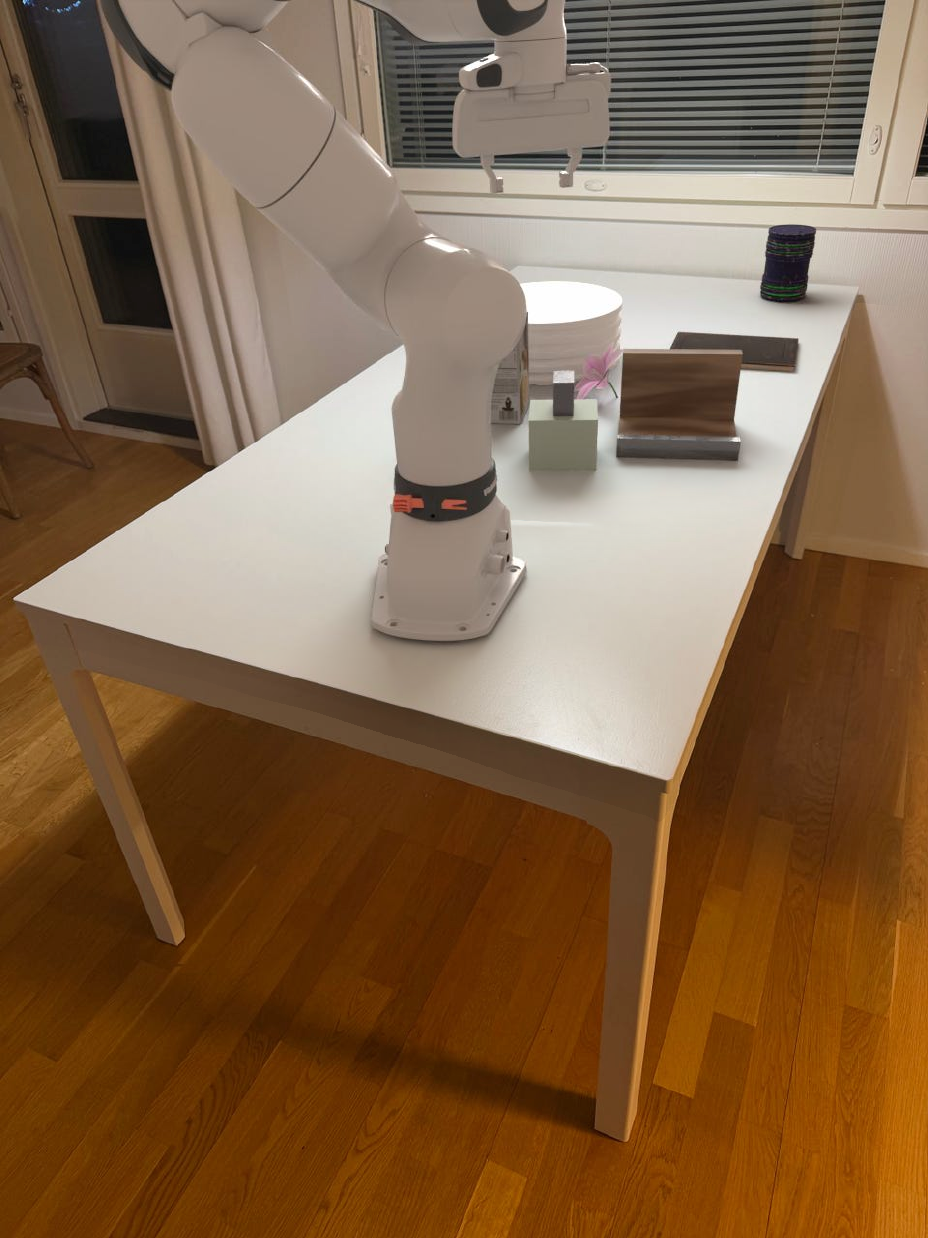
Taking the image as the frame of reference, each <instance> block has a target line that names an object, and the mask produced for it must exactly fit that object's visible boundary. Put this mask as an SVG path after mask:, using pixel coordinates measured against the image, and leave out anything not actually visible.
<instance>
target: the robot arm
mask: <svg viewBox="0 0 928 1238" xmlns="http://www.w3.org/2000/svg"><path fill="white" fill-rule="evenodd" d="M289 1H291V0H99V2H100V7H101V10H102V13H103V15H104V19H105V20H106V22H107V25H108V27H109V29H110V31H111V32H112V34H113V36H114V37H115V39H116V40H117V42H118V43H119V45H120V46H121V47H122V49H123V50H124V51H125V53H126V54H127V55H128V56H129V58H130V59H131V60H132V62H134V63H135V64H136V65H137V66H138V67H139V68H140V69H141V70H142V71H144V72H145V73H146V74H147V75H148V76H149V77H150V78H151V79H152V80H153V81H154V82H155V83H156V84H158V85H160V87H162V88H164V89H166V90H167V91H170V92H171V93H170V94H171V103H172V104H171V105H172V109H173V111H174V115H175V118H176V119H177V121H178V123H179V124H180V126H181V127H182V129H183V130H184V132H185V133H186V134H187V136H188V137H189V138H190V139H191V141H192V142H193V143H194V145H195V146H196V147H197V149H198V150H199V151H201V153H202V154H203V155H204V157H206V159H207V160H208V161H209V163H211V164H212V166H213V168H215V169H216V170H217V171H218V172H219V173H220V174H221V176H222V177H223V178H224V179H225V180H226V181H227V182H228V183H229V184H230V185H231V186H232V187H233V188H234V189H235V190H236V191H237V192H238V194H240V195H241V196H242V197H243V198H244V199H245V200H246V201H248V202H249V204H250V205H252V206H253V207H254V209H256V210H257V211H258V212H259V213H261V214H262V216H264V217H265V218H266V219H267V220H268V221H270V222H271V224H273V226H275V227H276V228H277V229H278V230H280V232H282V233H283V234H284V235H285V236H286V237H287V238H288V239H290V241H292V243H294V244H295V245H296V246H297V247H298V248H299V249H301V251H303V252H304V253H305V254H306V255H307V256H308V257H309V258H310V259H311V260H313V261H314V262H315V263H316V264H317V265H318V266H319V267H320V268H321V269H322V270H323V271H324V273H326V276H328V277H329V278H330V279H331V280H332V282H333V283H334V284H335V285H336V286H337V287H338V288H339V289H340V290H341V291H342V292H343V293H344V294H345V295H346V296H347V297H348V299H350V300H351V301H352V303H353V304H355V305H356V307H358V308H359V309H360V311H362V312H363V313H364V314H365V315H366V317H368V318H369V319H370V320H371V321H372V322H374V324H375V325H377V326H378V327H379V328H380V329H382V330H384V331H386V332H388V333H389V334H391V335H393V336H394V337H396V338H398V339H400V340H401V342H402V344H403V347H404V352H405V369H404V377H403V383H402V388H401V390H400V391H399V392H398V393H397V394H396V395H395V397H394V399H393V400H392V404H391V416H392V428H393V429H392V430H393V438H394V445H395V446H394V448H395V457H396V465H395V467H394V478H393V492H394V495H393V497H392V498H393V500H392V503H391V504H389V509H390V515H391V517H390V526H389V535H388V537H389V538H388V543H386V544H385V546H384V554H381V555H380V556H379V557H378V565H377V569H376V570H377V571H376V578H375V579H376V580H375V585H374V586H375V587H374V596H373V602H372V610H371V620H370V621H371V627H372V628H373V629H376V630H377V631H378V632H381V633H384V634H386V635H390V636H394V637H398V638H404V639H411V640H420V641H421V640H422V641H434V642H435V641H439V642H445V641H446V642H449V641H450V642H451V641H452V642H453V641H465V640H471V639H476V638H480V637H483V636H486V635H488V634H489V633H490V632H491V631H492V629H493V628H494V626H495V624H496V622H497V621H498V619H499V618H500V616H501V614H502V613H503V612H504V610H505V608H506V607H507V605H508V603H509V601H511V598H512V597H513V595H514V594H515V592H516V590H517V588H518V587H519V586H520V584H521V582H522V580H523V579H524V577H525V576H526V573H527V572H528V571H527V569H528V568H527V564H526V562H525V561H524V560H523V559H521V558H518V557H516V556H514V553H513V537H512V523H511V513H510V512H511V511H510V509H509V508H508V507H507V506H506V505H505V504H504V503H503V502H502V500H500V498H499V497H498V495H497V490H498V489H497V488H498V486H497V482H498V472H497V469H496V468H497V466H496V461H495V459H494V458H493V457H492V454H493V453H492V423H491V398H492V391H493V386H494V382H495V378H496V374H497V371H498V368H499V365H500V362H501V361H502V360H503V359H504V358H505V357H506V356H507V355H509V354H510V352H511V351H512V350H513V349H514V348H515V346H516V345H517V343H518V341H519V340H520V338H521V335H522V333H523V330H524V327H525V323H526V316H527V305H526V298H525V294H524V291H523V289H522V287H521V285H520V284H521V283H520V282H519V281H518V279H517V278H516V277H515V276H514V275H513V274H512V273H511V272H510V271H509V270H508V269H507V268H506V267H504V266H503V265H502V264H501V263H499V261H497V260H496V259H494V258H493V257H492V256H491V255H490V254H489V253H486V252H484V251H481V250H479V249H475V248H472V247H471V246H468V245H467V246H466V245H465V244H461V243H458V242H457V241H452V240H450V239H448V238H446V237H445V236H442V235H441V234H439V233H438V232H436V231H435V230H433V229H432V228H431V227H430V226H429V225H427V224H426V223H425V222H423V221H422V219H421V218H420V217H419V216H418V214H417V213H416V212H415V210H414V209H413V208H412V206H411V205H410V203H409V201H408V200H407V198H406V197H405V195H404V194H403V192H402V190H401V188H400V187H399V184H398V178H397V176H396V174H395V172H394V170H393V169H392V167H390V166H389V164H387V162H386V161H385V160H384V159H383V158H382V157H381V156H380V154H378V153H377V152H376V151H375V149H374V148H373V147H372V146H371V145H370V144H369V143H368V142H367V141H366V140H365V139H364V138H363V136H362V135H361V133H360V132H358V131H357V130H356V128H354V127H353V125H351V123H350V122H348V120H347V119H346V118H345V117H344V116H343V115H342V113H340V111H338V109H337V108H336V107H335V106H334V105H333V104H332V103H331V102H330V101H329V99H327V98H326V96H325V95H323V94H322V93H321V91H320V90H319V88H317V87H316V86H314V84H313V83H312V82H310V81H309V80H308V79H307V78H306V77H305V76H304V75H303V74H302V73H301V72H300V71H298V69H296V68H295V67H294V66H293V65H292V64H290V62H288V61H287V60H286V59H285V58H283V57H282V56H281V54H280V52H279V51H278V48H277V47H276V45H275V43H274V41H273V39H272V36H271V34H270V31H269V29H268V27H266V26H268V24H269V23H270V22H271V21H272V20H273V19H274V18H275V17H276V16H277V15H279V13H280V12H281V11H282V10H283V8H284V7H285V6H286V5H287V4H288V3H289ZM353 1H354V2H356V3H358V4H361V5H362V6H364V7H366V8H369V9H371V10H372V11H374V12H376V13H378V14H379V15H380V16H381V17H382V18H383V19H384V20H385V21H387V23H388V24H389V25H390V26H391V27H392V29H393V30H394V31H395V32H396V33H397V34H398V35H399V36H400V37H401V38H402V39H403V40H405V41H406V42H407V43H410V44H412V45H415V46H426V45H427V46H428V45H432V44H438V43H443V42H445V43H446V42H449V43H450V42H451V43H452V42H467V41H468V42H472V41H473V42H474V41H492V40H493V42H494V52H493V53H491V54H489V55H488V56H484V57H482V58H480V59H479V60H476V61H474V62H472V63H470V64H468V65H465V66H463V67H461V68H460V70H459V73H458V80H459V84H460V86H461V87H462V88H463V89H462V90H461V91H460V92H458V94H457V95H456V98H455V101H454V105H453V114H452V149H453V150H454V151H455V153H456V154H457V155H458V156H459V157H461V158H476V157H477V158H478V157H479V158H480V165H481V167H482V168H483V170H484V172H485V173H486V176H487V177H488V178H489V190H490V191H489V192H490V194H492V195H496V194H504V187H503V185H504V178H503V177H501V176H496V175H495V172H494V171H493V169H492V167H491V166H494V165H495V156H501V155H502V156H503V155H514V154H524V153H526V154H527V153H534V152H535V153H537V152H546V151H547V152H548V151H560V150H562V151H563V150H567V156H568V157H570V159H569V162H568V163H567V166H566V168H565V169H564V170H563V171H559V172H558V179H559V180H558V184H559V187H560V188H562V189H563V188H573V186H574V173H575V171H576V170H577V168H578V167H579V164H580V162H581V161H582V157H583V149H584V148H597V147H603V146H605V144H607V141H608V140H609V138H610V128H611V127H610V125H611V124H610V112H609V103H608V102H609V101H608V100H609V98H610V97H611V96H610V95H611V92H612V91H611V89H612V87H611V85H612V76H611V73H610V72H609V70H608V68H607V67H605V66H602V65H601V63H600V62H590V63H586V64H585V63H584V64H583V63H575V64H567V51H568V50H567V48H568V47H567V46H568V45H567V40H568V39H567V28H566V25H565V18H564V17H565V16H564V15H565V13H564V11H565V4H566V0H353ZM601 71H603V72H601Z"/></svg>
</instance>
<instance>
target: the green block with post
mask: <svg viewBox="0 0 928 1238" xmlns="http://www.w3.org/2000/svg"><path fill="white" fill-rule="evenodd" d="M552 386H553V387H552V399H529V412H528V413H529V414H528V470H529V472H530V471H597V464H598V463H597V461H598V460H597V459H598V458H597V457H598V434H599V433H598V431H599V428H598V427H599V413H598V411H599V410H598V399H596V398H583V399H577V398H576V399H575V392H574V388H575V382H574V371H554V375H553V385H552Z"/></svg>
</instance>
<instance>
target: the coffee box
mask: <svg viewBox="0 0 928 1238" xmlns="http://www.w3.org/2000/svg"><path fill="white" fill-rule="evenodd" d="M528 407H530V385H529V353H528V312H527V316H526V323H525V327H524V330H523V333H522V335H521V338H520V340H519V341H518V343H517V345H516V346H515V348H514V349H513V350H512V351H511V352H510V354H509V355H507V356H506V357H505V358H504V359H503V360H502V361H501V362H500V365H499V368H498V371H497V374H496V378H495V382H494V386H493V391H492V398H491V424H499V425H501V424H502V425H503V424H505V425H506V424H507V425H521V424H522V422H523V421H524V417H525V415H526V413H527V411H528Z"/></svg>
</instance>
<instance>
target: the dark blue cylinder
mask: <svg viewBox="0 0 928 1238" xmlns="http://www.w3.org/2000/svg"><path fill="white" fill-rule="evenodd" d="M816 234H817V228H816V227H814V226H811V225H806V224H790V223H789V224H778V225H773V226H770V227H769V228H768V236H767V241H766V243H765V244H766V245H765V252H764V257H765V260H764V261H765V263H764V269H763V270H764V271H763V274H762V275H761V282H760V287H759V291H760V292H759V295H760V298H761V299H763V300H764V301H768V302H771V303H772V302H773V303H780V304H781V303H786V304H787V303H795V302H800V301H803V300H804V298H805V296H806V294H807V290H808V286H809V285H808V282H809V269H810V263H811V259H812V257H813V255H814V253H813V252H814V249H815V243H816V242H815V240H816Z"/></svg>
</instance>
